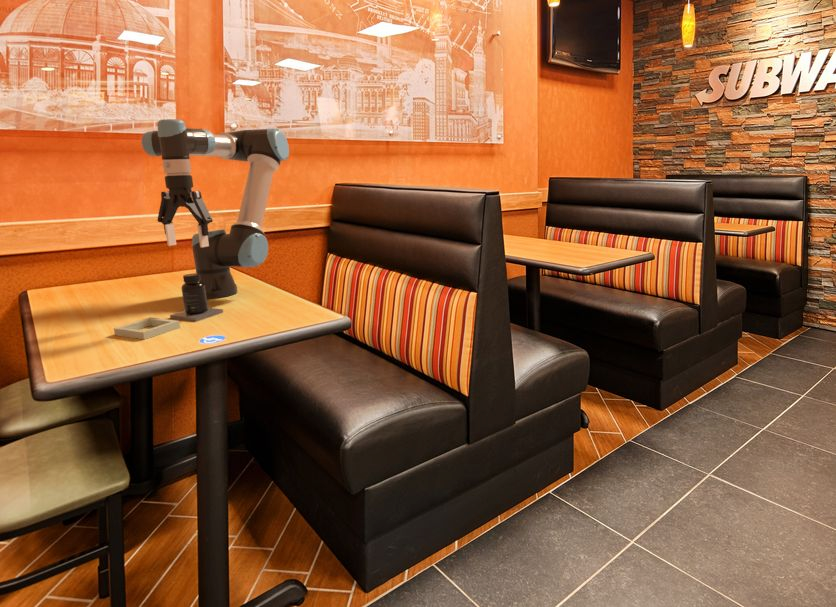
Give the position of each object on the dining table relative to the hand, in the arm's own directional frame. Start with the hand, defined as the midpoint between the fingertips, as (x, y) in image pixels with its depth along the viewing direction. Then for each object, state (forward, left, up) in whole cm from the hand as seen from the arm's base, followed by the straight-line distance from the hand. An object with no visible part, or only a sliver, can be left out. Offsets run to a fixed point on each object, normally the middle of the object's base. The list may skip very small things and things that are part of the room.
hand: (188, 246), depth 166 cm
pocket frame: (0, -18, -22) cm, 28 cm away
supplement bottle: (0, 0, -21) cm, 21 cm away
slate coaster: (0, 0, -22) cm, 22 cm away
